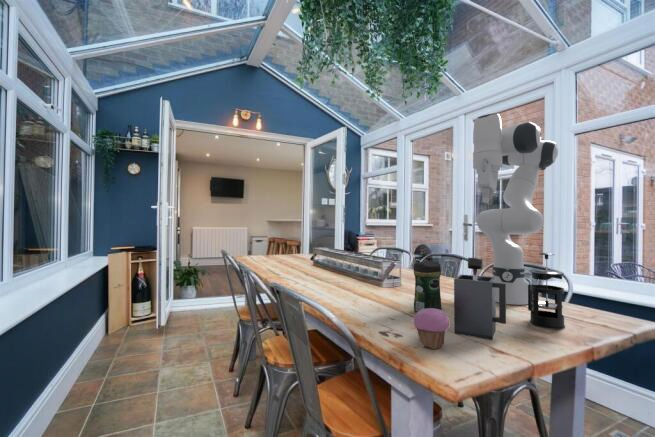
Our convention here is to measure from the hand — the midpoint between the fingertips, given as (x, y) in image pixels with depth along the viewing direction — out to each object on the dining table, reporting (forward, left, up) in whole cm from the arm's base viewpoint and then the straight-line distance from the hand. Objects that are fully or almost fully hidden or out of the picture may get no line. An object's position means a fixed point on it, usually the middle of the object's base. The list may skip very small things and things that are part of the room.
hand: (487, 203), depth 107 cm
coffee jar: (0, -20, -39) cm, 44 cm away
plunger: (+14, -2, -34) cm, 36 cm away
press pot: (+14, 0, -39) cm, 42 cm away
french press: (-7, +16, -39) cm, 43 cm away
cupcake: (+33, -10, -39) cm, 52 cm away
